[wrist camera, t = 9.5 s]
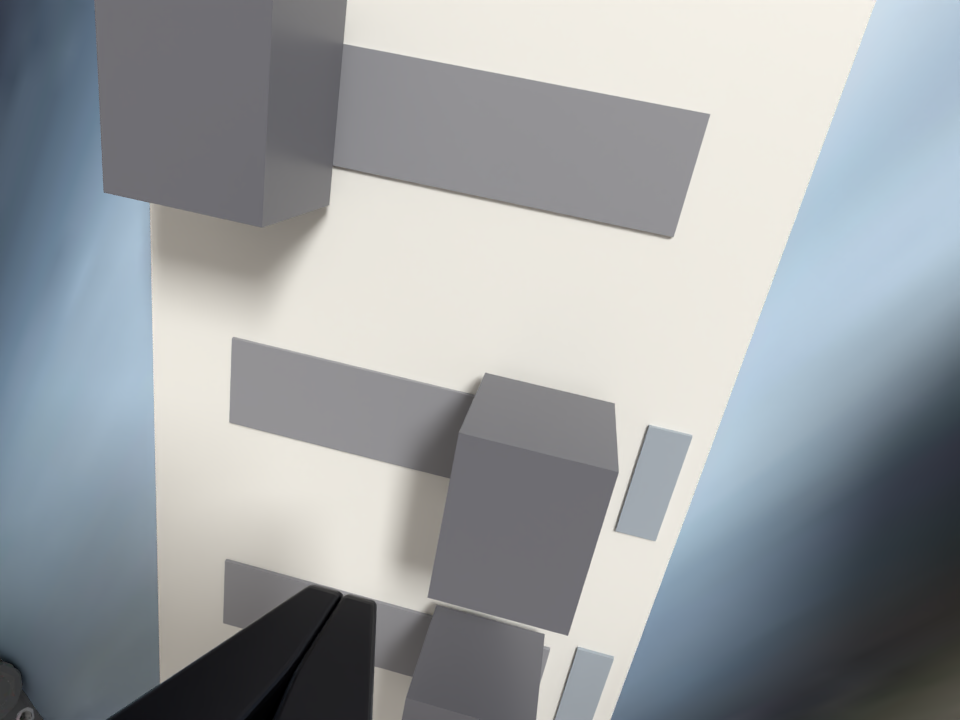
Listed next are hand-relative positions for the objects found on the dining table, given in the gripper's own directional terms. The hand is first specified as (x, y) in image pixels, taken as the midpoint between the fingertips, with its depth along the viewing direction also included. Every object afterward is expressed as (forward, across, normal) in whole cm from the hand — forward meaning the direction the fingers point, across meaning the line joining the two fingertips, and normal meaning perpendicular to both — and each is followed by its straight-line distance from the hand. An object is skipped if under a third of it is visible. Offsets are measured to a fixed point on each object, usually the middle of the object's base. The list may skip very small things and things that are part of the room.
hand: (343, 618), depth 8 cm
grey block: (+8, -2, +2) cm, 8 cm away
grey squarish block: (+8, -2, +9) cm, 12 cm away
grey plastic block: (+8, +5, -5) cm, 11 cm away
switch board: (+10, +1, +2) cm, 10 cm away
